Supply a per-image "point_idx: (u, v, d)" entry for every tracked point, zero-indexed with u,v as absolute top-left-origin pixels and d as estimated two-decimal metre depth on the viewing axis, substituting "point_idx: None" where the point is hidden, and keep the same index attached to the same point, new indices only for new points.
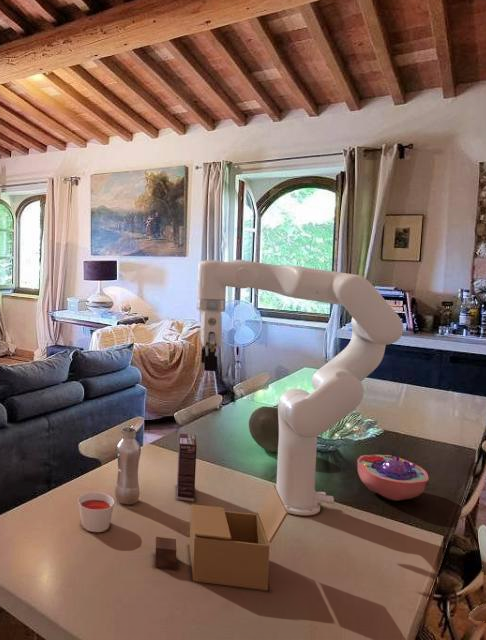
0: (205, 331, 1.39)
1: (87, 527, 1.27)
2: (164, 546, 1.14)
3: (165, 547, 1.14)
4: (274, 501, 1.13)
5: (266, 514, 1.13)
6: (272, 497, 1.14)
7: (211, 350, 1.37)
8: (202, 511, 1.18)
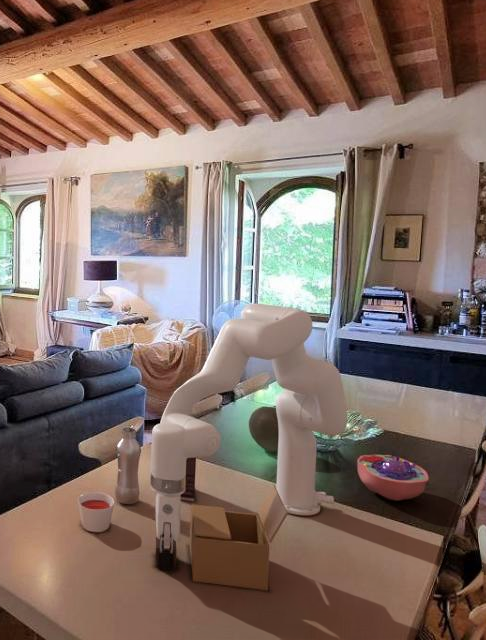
0: (159, 520, 1.10)
1: (87, 527, 1.27)
2: None
3: None
4: (274, 501, 1.13)
5: (266, 514, 1.13)
6: (272, 497, 1.14)
7: None
8: (202, 511, 1.18)
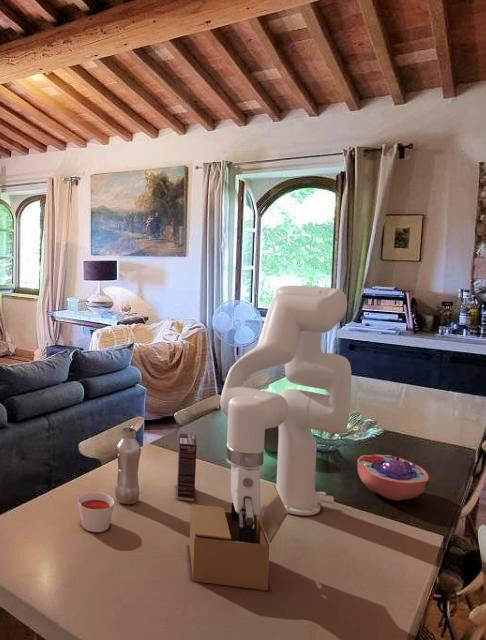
0: (239, 494, 1.08)
1: (87, 527, 1.27)
2: None
3: None
4: (274, 501, 1.13)
5: (266, 514, 1.13)
6: (272, 497, 1.14)
7: (247, 524, 1.05)
8: (202, 511, 1.18)
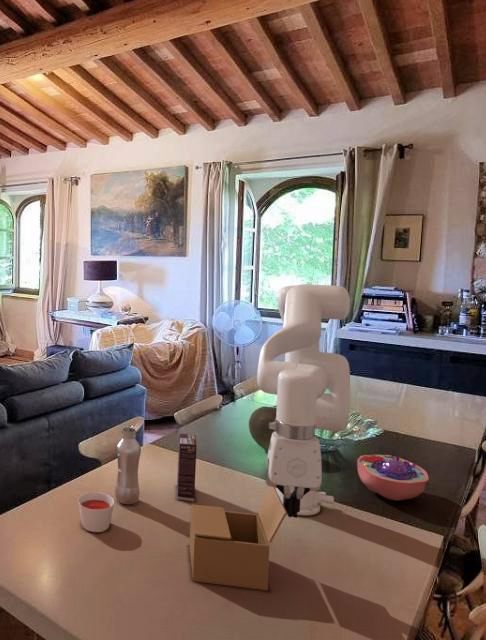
0: None
1: (87, 527, 1.27)
2: None
3: None
4: (273, 500, 1.13)
5: (266, 514, 1.13)
6: (271, 497, 1.14)
7: None
8: (202, 511, 1.18)
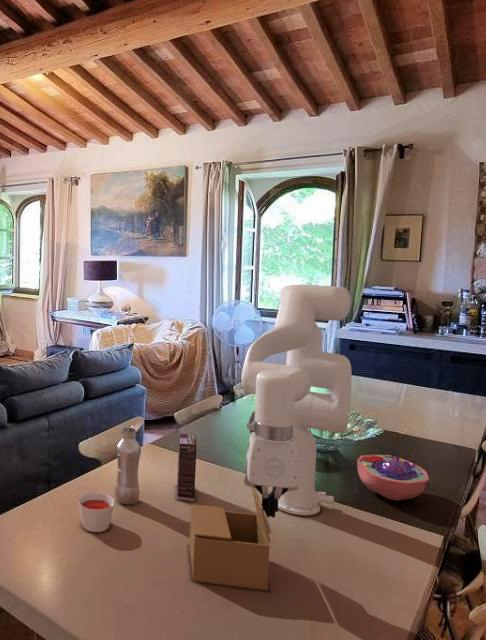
0: None
1: (87, 527, 1.27)
2: None
3: None
4: (255, 498, 1.13)
5: (259, 513, 1.13)
6: (254, 494, 1.15)
7: (254, 484, 1.12)
8: (202, 511, 1.18)
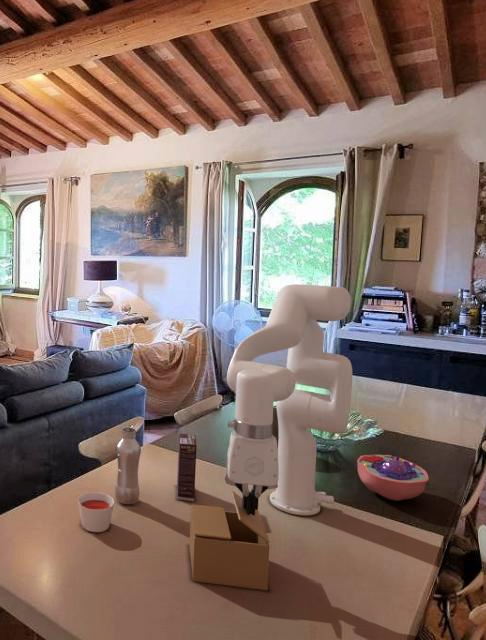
0: None
1: (87, 527, 1.27)
2: None
3: None
4: None
5: None
6: None
7: (234, 482, 1.13)
8: (202, 511, 1.18)
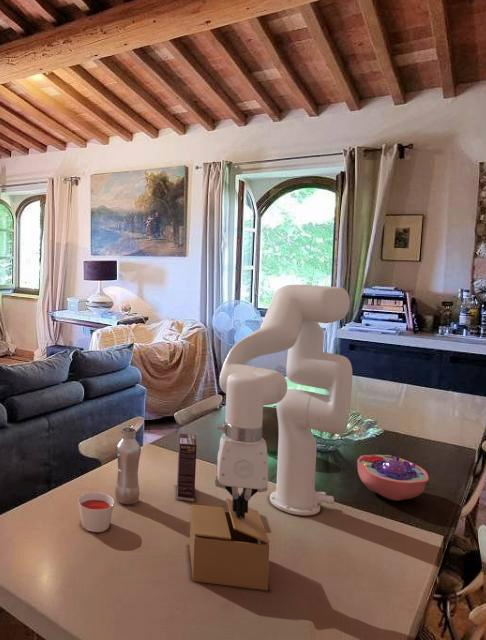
0: None
1: (87, 527, 1.27)
2: None
3: None
4: None
5: None
6: None
7: (224, 485, 1.13)
8: (202, 511, 1.18)
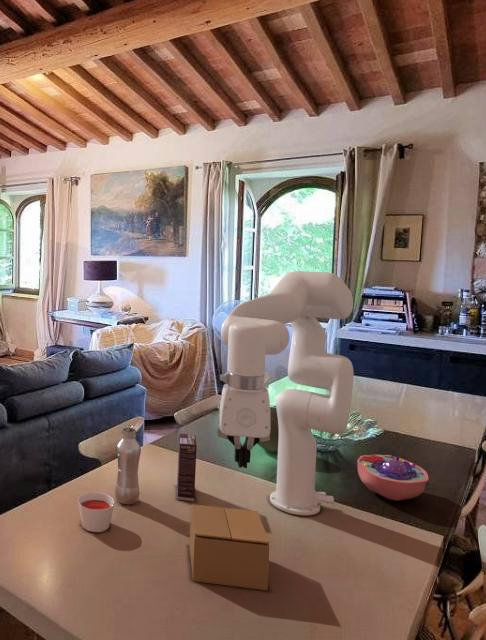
0: None
1: (87, 527, 1.27)
2: None
3: None
4: None
5: None
6: None
7: None
8: (202, 511, 1.18)
